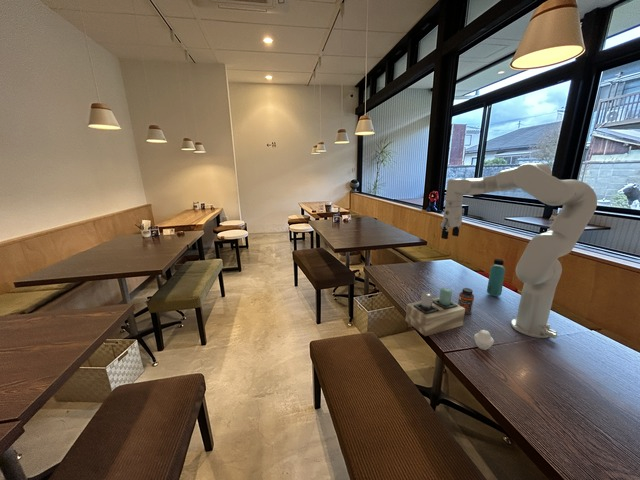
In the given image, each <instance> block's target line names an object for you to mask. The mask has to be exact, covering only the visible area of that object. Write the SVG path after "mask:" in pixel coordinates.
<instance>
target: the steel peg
mask: <svg viewBox="0 0 640 480" xmlns="http://www.w3.org/2000/svg"><path fill="white" fill-rule="evenodd" d="M433 298H434V294H433V293H431V292H430V291H423V292H421V298H420V299H421V300H420V301H421V307H420V308H421V309H423V310H424V311H430V310H432V303H433Z"/></svg>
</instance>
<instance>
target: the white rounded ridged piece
mask: <svg viewBox="0 0 640 480" xmlns="http://www.w3.org/2000/svg"><path fill="white" fill-rule="evenodd" d="M473 338H474V342H475V344H476V346H477V348H478V349H480V350H483V351H487V350H488V349H490V347H492V346H493V344H494V343H495V340H494V338H493V337H492V336H491V333H490V332H489V331H488V330H487V329H480V330H479V331H478V332H476V333H475V334H474V336H473Z"/></svg>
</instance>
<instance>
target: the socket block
mask: <svg viewBox="0 0 640 480" xmlns="http://www.w3.org/2000/svg"><path fill="white" fill-rule="evenodd" d="M439 299H440V296H438V297H433V303H432V310H430V311H424V310H423V309H421V308H420V307H421V300H419V301H416V302H411V303H407V304H406V309H405V310H406V311H405V322H407V323H408V324H409V325H410V326H411V327H413V328H414V329H415V330H417V331H418V332H419V333H420V334H421V335H423V336H424V337H427V336H431V335H435V334H438V333H443V332H445V331H448V330H451V329H455V328H459V327H462V326H464V321H465V320H464V319H465V315H466V314H465V308H463V307H461V306H460V305H458V303H456V302H454V301H452V300H451V303H450V306H446V307H444V306H443V305H441V304H439ZM430 334H431V335H430Z"/></svg>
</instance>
